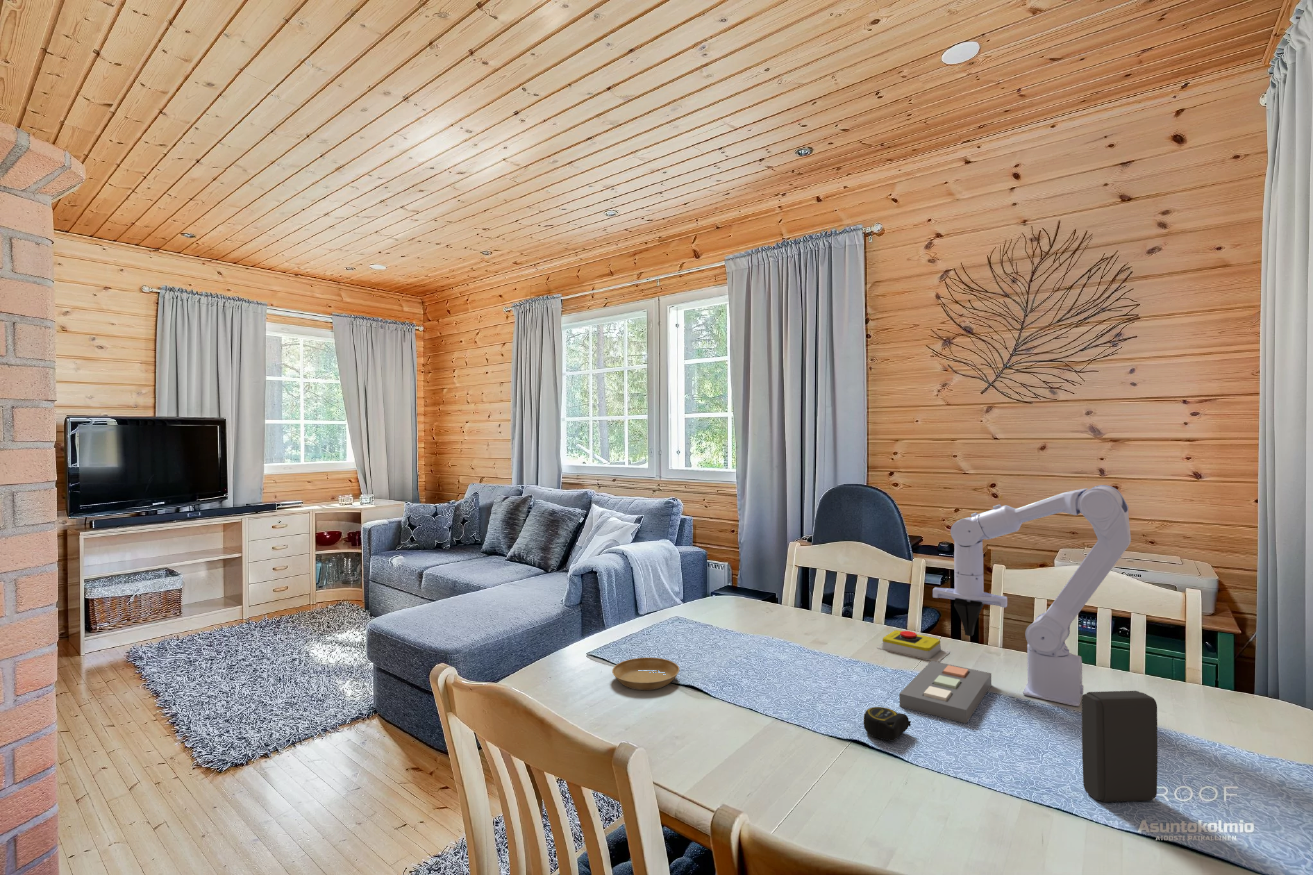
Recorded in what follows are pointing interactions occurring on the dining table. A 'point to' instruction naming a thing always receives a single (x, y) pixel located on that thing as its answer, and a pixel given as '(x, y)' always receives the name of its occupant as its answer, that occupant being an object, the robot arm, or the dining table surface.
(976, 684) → the button panel
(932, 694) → the cream button
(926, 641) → the emergency button
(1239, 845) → the dining table surface
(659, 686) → the plant saucer
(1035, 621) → the robot arm
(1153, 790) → the dark brown upright block
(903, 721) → the tape measure
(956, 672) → the terracotta button
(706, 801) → the dining table surface
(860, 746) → the dining table surface
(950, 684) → the sage button
